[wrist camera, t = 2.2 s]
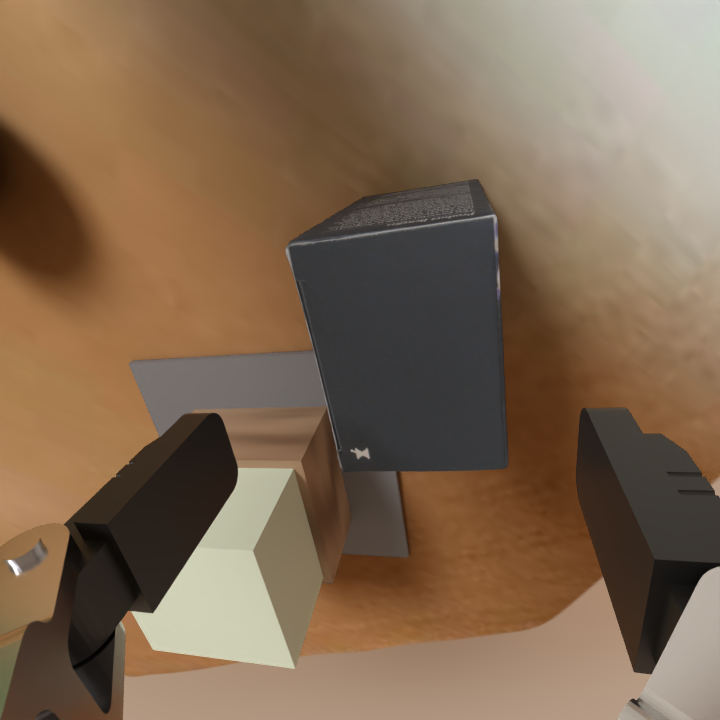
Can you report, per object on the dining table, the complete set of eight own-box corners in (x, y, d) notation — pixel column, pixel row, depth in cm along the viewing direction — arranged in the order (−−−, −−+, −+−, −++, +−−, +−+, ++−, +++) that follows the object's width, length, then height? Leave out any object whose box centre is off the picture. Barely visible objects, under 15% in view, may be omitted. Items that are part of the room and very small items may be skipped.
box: (490, 337, 23) (511, 476, 14) (383, 345, 24) (335, 476, 15) (482, 174, 19) (501, 211, 10) (358, 195, 21) (276, 244, 12)
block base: (194, 409, 28) (146, 459, 24) (327, 406, 26) (300, 460, 22) (232, 513, 32) (197, 573, 28) (351, 518, 30) (333, 583, 26)
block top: (157, 466, 24) (90, 540, 20) (293, 468, 22) (253, 550, 18) (201, 568, 28) (153, 649, 23) (323, 577, 26) (295, 668, 21)
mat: (132, 360, 28) (128, 363, 28) (378, 346, 24) (377, 350, 24) (207, 541, 35) (205, 545, 35) (408, 553, 31) (408, 557, 31)
